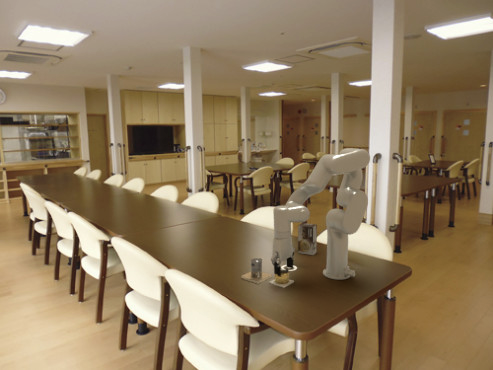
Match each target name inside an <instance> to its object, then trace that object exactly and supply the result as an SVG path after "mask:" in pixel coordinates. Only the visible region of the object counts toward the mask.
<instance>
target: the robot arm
mask: <svg viewBox="0 0 493 370" xmlns="http://www.w3.org/2000/svg"><path fill="white" fill-rule="evenodd" d="M370 155H371V154H370V153H369V152H368V151H367V150H366V149H364V148H354V147H351V148H350V147H347V148H343V149H341V150H340V152H339V153H338V154H334V153H333V154H330V153H329V154H328V153H327V154H324V155H323V156H321V157H320V159H319V160H318V162H317V163H316V164H315V167H314V168H313V170H312V172H311V173H310V174H309V176H308V178H307V179H306V180H305V182H303V183H302V184H301V185H300V186H298V187H297V188H296V189H295V190H294V191H293V192H292V194H290V196H289V198H288V200H287V201H286V203H285V205H277V206H275V207H274V208H273V232H274V233H273V235H274V236H273V240H272V241H273V242H272V252H271V253H272V256H271V258H270V261H271V264H272V266H273V271H274V272H273V273H274V275H275V274H277V275H281V270H282V269H281V266H282V265H281V263H282V262H283V261H285V260H286V261H285V263H286V262H287V266H286V268H287V267H290V268H291V269H294V267H293V265H294V255H295V250H296V248H295V247H294V246H293V238H292V223H305V222H306V221H308V220H309V218H310V216H311V212H310V210H309V208H308V207H306V206H305V205H304V204H305V202H306V201H307V200H308V199H309V198H310V197H312V196H314V195H317V194H320V193H321V192H323V191H324V190H325V188H326V187H327V185H328V183H329V182H330V180H331V179H332V177H333V175H336V176H339V175H343V176H342V177H343V178H342V181H341V184H340V186H339V188H338V191H337V195H336V198H335V199H336V200H335V201H336V203H337V204H338V206H340V207H342V208H344V209H345V210H344V209H341V208H332V209H330V210H329V211H328V212H327V213H326V216H325V224H326V231H327V234H326V235H327V236H326V238H327V239H326V264H325V265H326V268H324V269H323V271H322V275H323V276H324V277H326V278H328V279H331V280H337V281H338V280H341V281H342V280H347V279H349V278H350V277H355V276H356V271H355V270H353V269H351V268H350V266H349V265H348V260H349V259H348V256H349V252H348V251H349V236H350V235H353V234H355V233H357V232H358V231H359V229H360V227H361V224H362V222H363V219H364V217H365V214H366V211H367V208H368V205H369V197H368V195H367V193H366V192H365V191H363V190H361V189H360V188H361V187H362V186H361V185H362V182H363V170H362V169H365V168H366V167H367V166H368V165H369V163H370V162H371V156H370Z"/></svg>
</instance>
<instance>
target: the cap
mask: <svg viewBox="0 0 493 370" xmlns="http://www.w3.org/2000/svg"><path fill="white" fill-rule="evenodd" d="M288 270H289V269H288V268H286V270H283V269H281V275H277V274H274V279H275V283H277V284H287V283H288V282H289V279H290V271H288Z"/></svg>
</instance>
